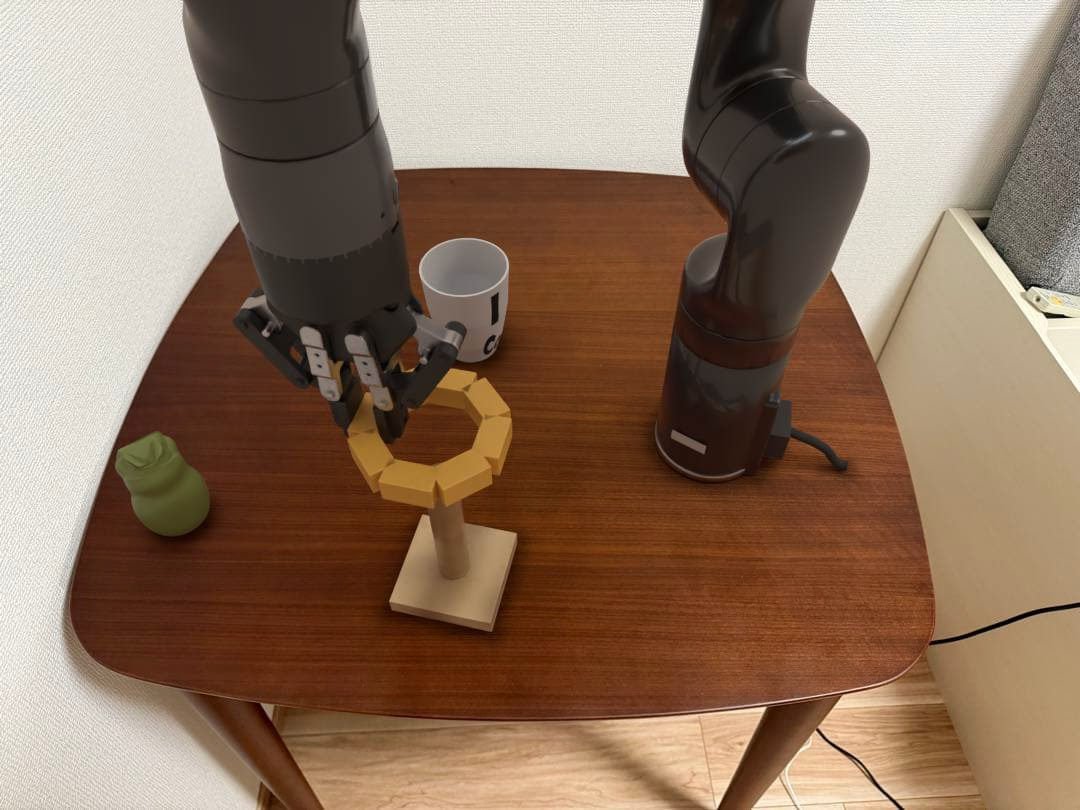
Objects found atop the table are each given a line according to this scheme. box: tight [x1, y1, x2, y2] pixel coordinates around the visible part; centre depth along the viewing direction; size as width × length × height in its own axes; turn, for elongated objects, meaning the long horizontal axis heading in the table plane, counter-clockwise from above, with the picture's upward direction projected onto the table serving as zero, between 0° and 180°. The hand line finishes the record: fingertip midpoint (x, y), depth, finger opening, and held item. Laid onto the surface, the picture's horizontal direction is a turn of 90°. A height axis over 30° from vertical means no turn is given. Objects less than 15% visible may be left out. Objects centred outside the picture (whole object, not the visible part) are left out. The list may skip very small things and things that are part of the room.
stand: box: [388, 462, 518, 633], centre depth 60 cm, size 8×8×14 cm
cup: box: [418, 237, 510, 363], centre depth 78 cm, size 8×8×10 cm
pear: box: [114, 430, 211, 537], centre depth 65 cm, size 6×5×10 cm
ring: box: [346, 367, 513, 509], centre depth 51 cm, size 10×10×2 cm
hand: (375, 429), depth 52 cm, fingers closed on ring, 2 cm apart
